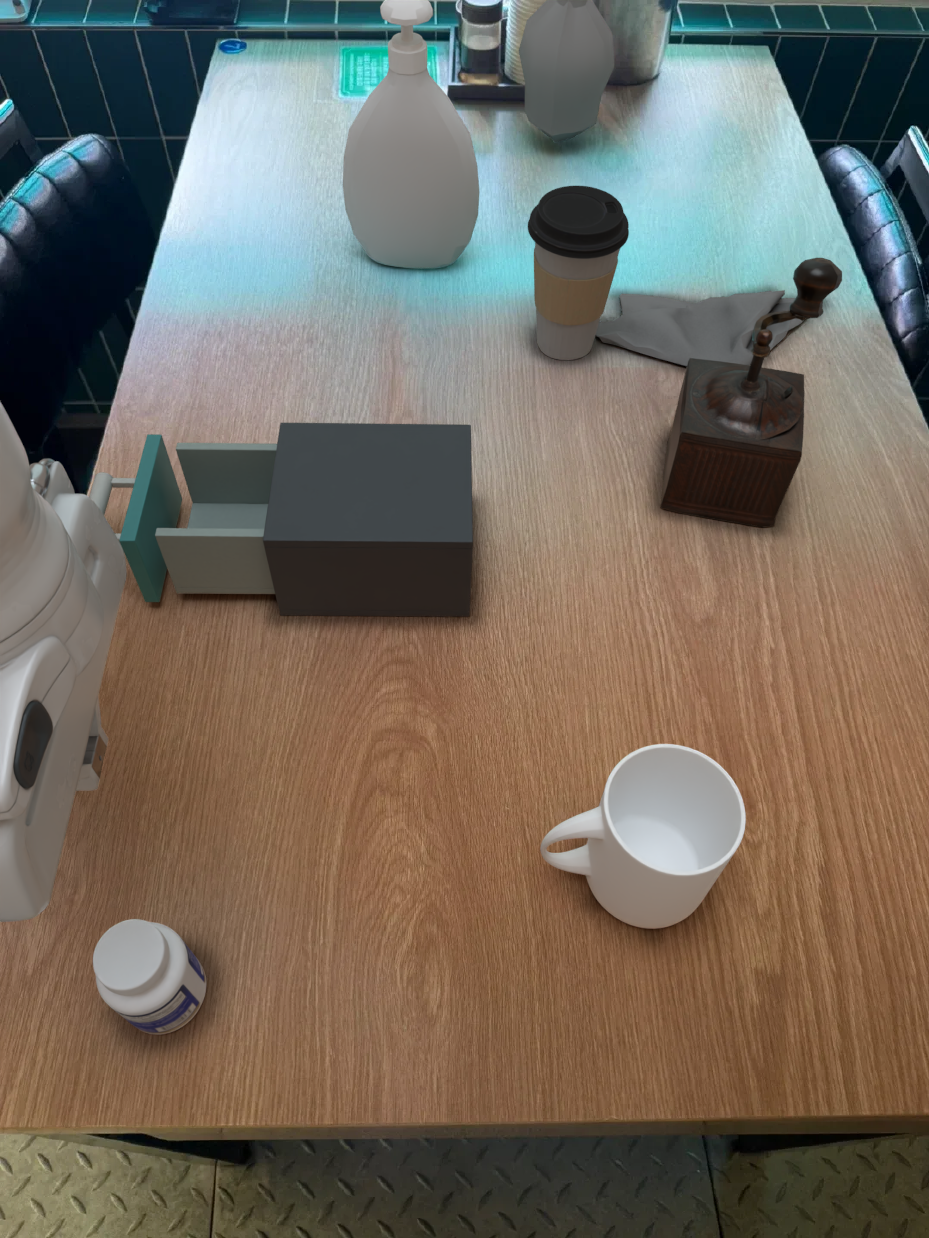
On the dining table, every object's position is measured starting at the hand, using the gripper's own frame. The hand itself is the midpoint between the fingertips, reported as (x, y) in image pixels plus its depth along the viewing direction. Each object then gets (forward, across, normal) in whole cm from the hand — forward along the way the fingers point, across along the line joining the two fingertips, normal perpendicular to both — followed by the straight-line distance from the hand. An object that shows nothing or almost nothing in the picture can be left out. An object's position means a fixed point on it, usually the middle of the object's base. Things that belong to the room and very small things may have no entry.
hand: (88, 766), depth 50 cm
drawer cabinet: (+18, -29, +13) cm, 36 cm away
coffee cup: (+18, -57, +32) cm, 68 cm away
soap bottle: (+18, -73, +16) cm, 76 cm away
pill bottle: (+18, +7, +1) cm, 19 cm away
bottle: (+18, -97, +34) cm, 105 cm away
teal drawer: (+17, -29, 0) cm, 33 cm away
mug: (+18, 0, +31) cm, 36 cm away
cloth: (+18, -59, +48) cm, 78 cm away
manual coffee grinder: (+18, -40, +46) cm, 63 cm away
